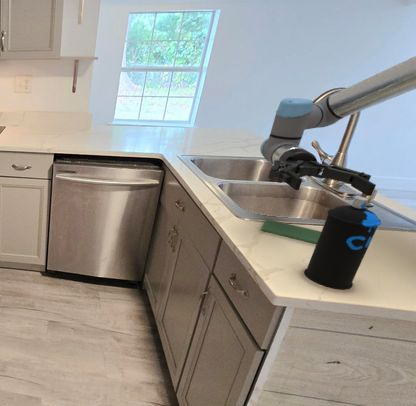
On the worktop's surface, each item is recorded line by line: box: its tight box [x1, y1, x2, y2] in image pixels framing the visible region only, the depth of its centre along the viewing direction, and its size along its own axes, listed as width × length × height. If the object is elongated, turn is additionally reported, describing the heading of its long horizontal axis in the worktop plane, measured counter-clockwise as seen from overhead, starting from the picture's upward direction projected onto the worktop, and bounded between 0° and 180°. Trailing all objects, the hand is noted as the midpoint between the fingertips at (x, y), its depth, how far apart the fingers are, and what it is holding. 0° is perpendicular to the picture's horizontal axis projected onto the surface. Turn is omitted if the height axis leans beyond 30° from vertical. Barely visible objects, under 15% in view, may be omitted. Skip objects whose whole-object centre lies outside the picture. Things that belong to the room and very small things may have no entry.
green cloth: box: [260, 218, 322, 245], centre depth 103 cm, size 14×8×1 cm, turn 46°
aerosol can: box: [304, 196, 382, 290], centre depth 79 cm, size 8×8×20 cm
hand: (334, 187), depth 84 cm, fingers open, 13 cm apart
